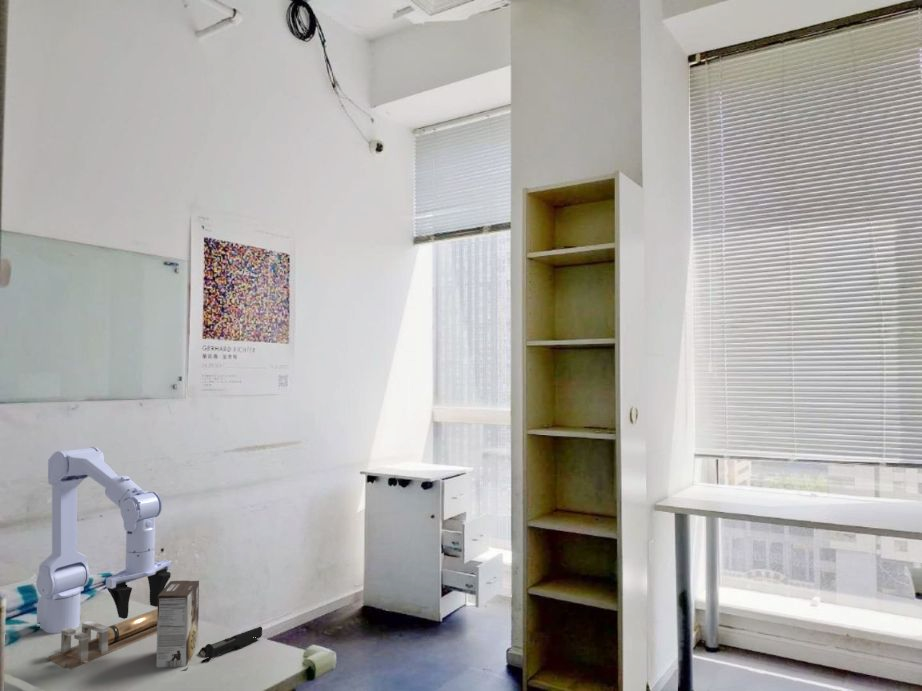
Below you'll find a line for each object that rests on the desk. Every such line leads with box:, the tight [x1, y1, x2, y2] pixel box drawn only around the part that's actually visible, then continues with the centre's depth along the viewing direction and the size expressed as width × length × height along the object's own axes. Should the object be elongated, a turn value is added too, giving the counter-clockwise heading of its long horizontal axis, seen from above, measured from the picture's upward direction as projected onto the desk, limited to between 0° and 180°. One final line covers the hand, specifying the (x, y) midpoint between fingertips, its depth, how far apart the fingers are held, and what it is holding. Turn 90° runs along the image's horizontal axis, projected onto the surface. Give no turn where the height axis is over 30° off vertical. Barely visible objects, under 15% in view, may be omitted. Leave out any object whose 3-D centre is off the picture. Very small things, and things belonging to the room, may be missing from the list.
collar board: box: [45, 620, 157, 670], centre depth 148 cm, size 9×26×6 cm, turn 152°
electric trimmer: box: [197, 626, 263, 664], centre depth 147 cm, size 4×16×3 cm, turn 142°
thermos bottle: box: [96, 608, 158, 644], centre depth 152 cm, size 16×4×4 cm, turn 152°
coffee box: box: [155, 580, 200, 672], centre depth 140 cm, size 9×6×16 cm
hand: (139, 611), depth 142 cm, fingers open, 7 cm apart
